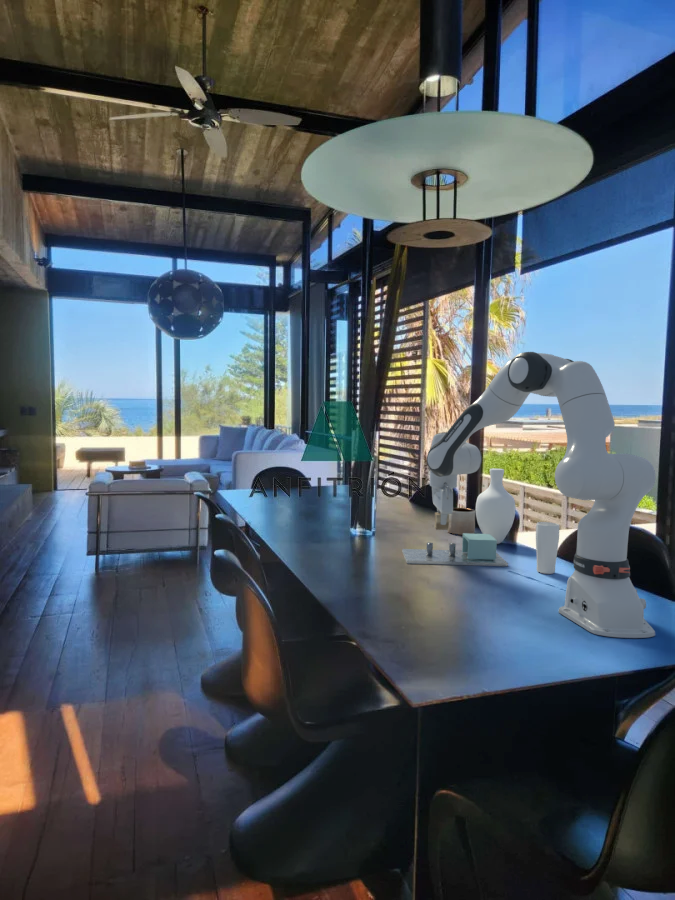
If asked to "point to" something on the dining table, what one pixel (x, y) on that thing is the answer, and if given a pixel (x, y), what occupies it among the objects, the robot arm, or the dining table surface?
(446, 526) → the block
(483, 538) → the cover
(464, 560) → the base
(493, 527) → the vase
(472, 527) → the planter
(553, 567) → the drinking glass
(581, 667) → the dining table surface
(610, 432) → the robot arm
